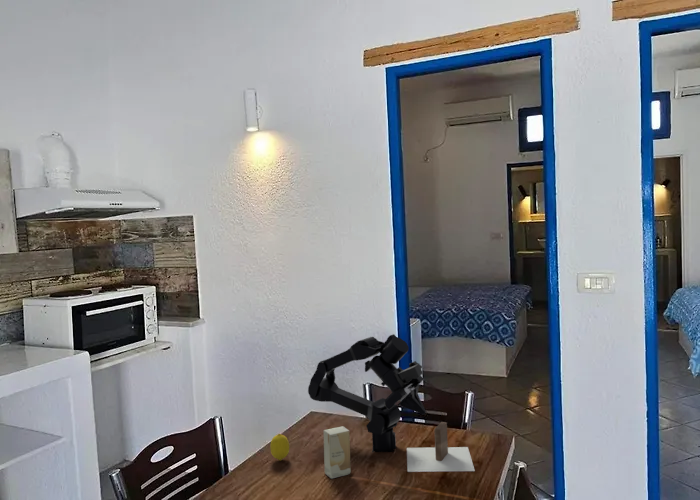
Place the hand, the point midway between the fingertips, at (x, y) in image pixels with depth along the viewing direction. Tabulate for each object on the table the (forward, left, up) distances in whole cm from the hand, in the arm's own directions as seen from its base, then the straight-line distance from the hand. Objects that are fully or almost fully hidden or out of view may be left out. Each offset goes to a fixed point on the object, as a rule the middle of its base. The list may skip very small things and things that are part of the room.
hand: (424, 413), depth 165 cm
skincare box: (-25, -11, -13) cm, 30 cm away
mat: (+3, -3, -13) cm, 13 cm away
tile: (+4, -2, -12) cm, 13 cm away
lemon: (-43, -2, -13) cm, 45 cm away
